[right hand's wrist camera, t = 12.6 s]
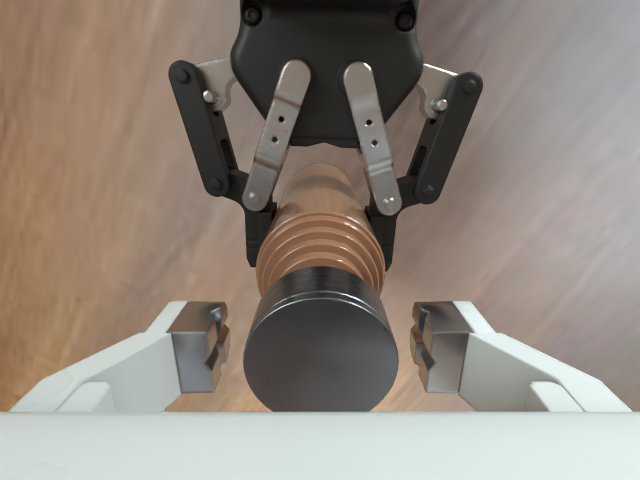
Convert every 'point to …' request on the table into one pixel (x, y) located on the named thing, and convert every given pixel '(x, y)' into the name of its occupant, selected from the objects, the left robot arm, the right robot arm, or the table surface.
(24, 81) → the table surface
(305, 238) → the bottle
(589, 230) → the table surface
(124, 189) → the table surface
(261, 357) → the cap
